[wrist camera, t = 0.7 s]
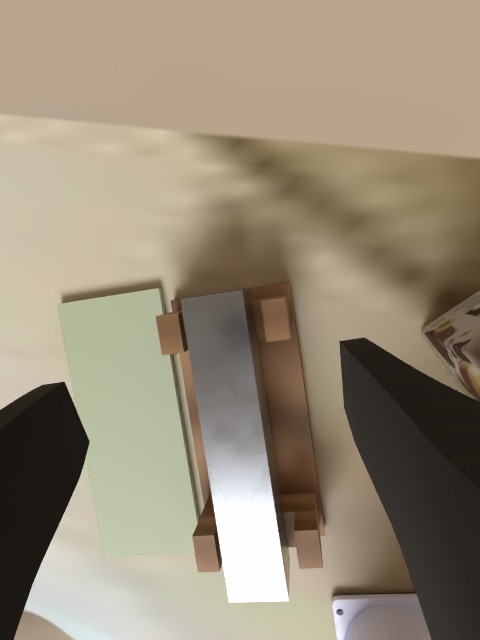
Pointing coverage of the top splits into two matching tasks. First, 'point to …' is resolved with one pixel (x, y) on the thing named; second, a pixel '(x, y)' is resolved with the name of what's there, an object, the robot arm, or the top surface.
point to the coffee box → (459, 343)
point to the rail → (238, 445)
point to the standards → (285, 426)
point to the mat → (131, 424)
